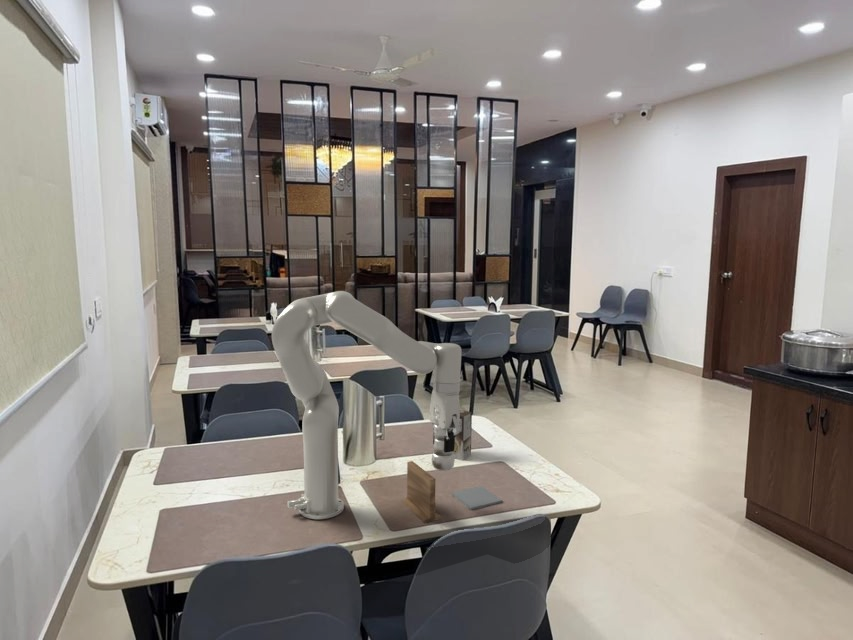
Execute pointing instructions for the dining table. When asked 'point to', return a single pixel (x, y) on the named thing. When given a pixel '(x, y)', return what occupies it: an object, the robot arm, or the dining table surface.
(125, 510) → the dining table surface
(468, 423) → the coffee box
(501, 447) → the dining table surface
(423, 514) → the wooden stand
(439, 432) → the plastic bottle
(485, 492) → the mat
